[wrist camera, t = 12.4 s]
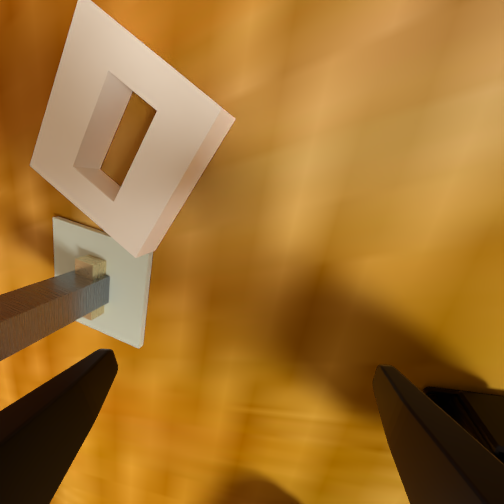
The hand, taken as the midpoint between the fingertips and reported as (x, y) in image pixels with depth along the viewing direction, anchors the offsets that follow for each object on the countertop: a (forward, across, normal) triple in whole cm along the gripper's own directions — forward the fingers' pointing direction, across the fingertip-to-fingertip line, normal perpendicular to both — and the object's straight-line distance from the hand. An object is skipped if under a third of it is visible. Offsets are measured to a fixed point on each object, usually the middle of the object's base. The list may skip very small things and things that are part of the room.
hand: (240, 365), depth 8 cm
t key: (+14, +16, +6) cm, 22 cm away
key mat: (+14, +16, +6) cm, 22 cm away
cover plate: (+15, +10, -7) cm, 19 cm away
